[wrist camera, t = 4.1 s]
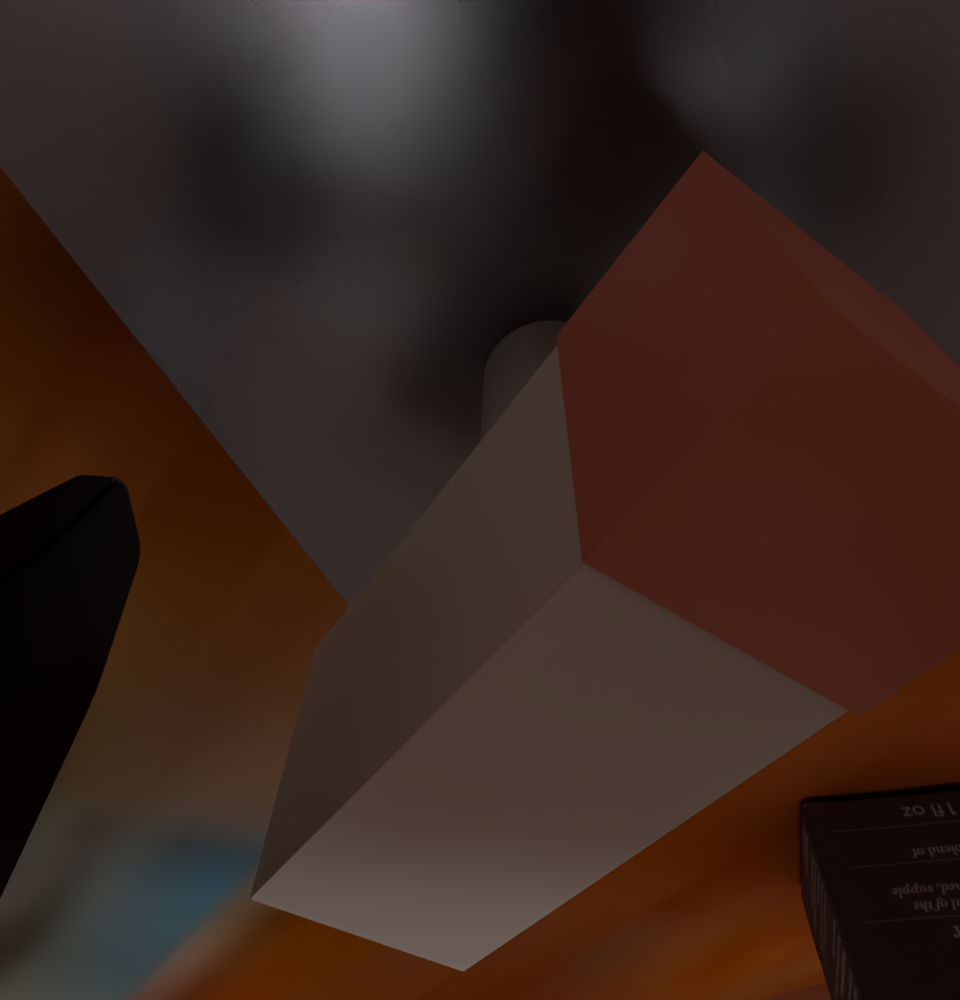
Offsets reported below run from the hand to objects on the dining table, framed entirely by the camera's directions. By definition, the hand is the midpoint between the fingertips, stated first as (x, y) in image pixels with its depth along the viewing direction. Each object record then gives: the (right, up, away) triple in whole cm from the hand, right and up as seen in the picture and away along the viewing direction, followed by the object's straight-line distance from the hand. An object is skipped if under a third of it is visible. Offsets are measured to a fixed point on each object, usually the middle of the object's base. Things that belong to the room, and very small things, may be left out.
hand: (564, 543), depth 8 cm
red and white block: (0, +2, +3) cm, 4 cm away
